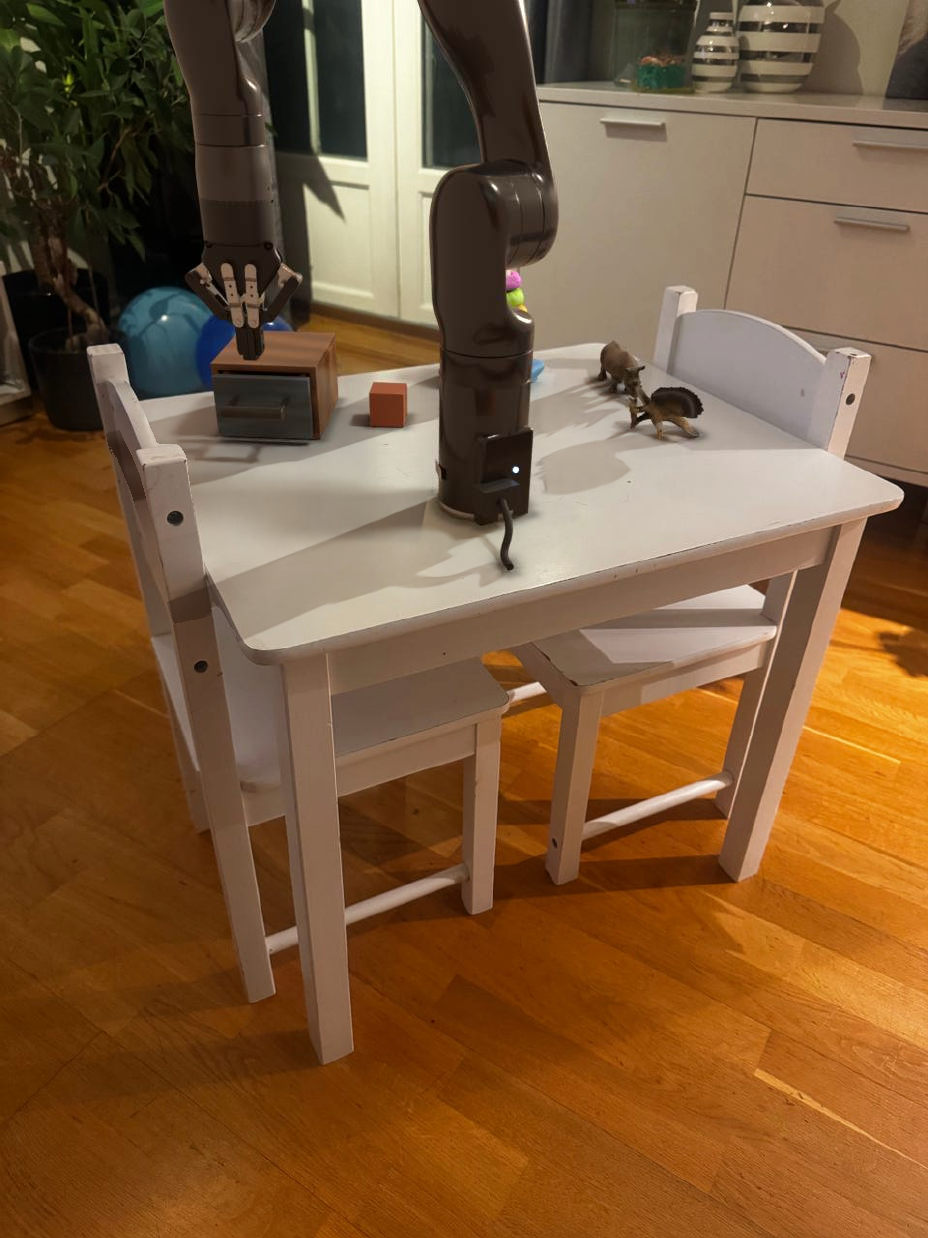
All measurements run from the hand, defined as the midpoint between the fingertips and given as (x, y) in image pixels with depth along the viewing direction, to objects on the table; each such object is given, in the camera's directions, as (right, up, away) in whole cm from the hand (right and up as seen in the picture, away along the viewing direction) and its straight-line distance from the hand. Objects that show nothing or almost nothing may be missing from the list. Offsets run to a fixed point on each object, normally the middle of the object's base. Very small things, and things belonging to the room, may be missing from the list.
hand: (252, 358), depth 104 cm
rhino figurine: (+46, +3, +27) cm, 54 cm away
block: (+14, -4, +16) cm, 21 cm away
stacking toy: (+28, +5, +30) cm, 41 cm away
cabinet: (0, -3, +16) cm, 16 cm away
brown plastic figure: (+50, -6, +14) cm, 52 cm away
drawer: (0, -5, +11) cm, 12 cm away
